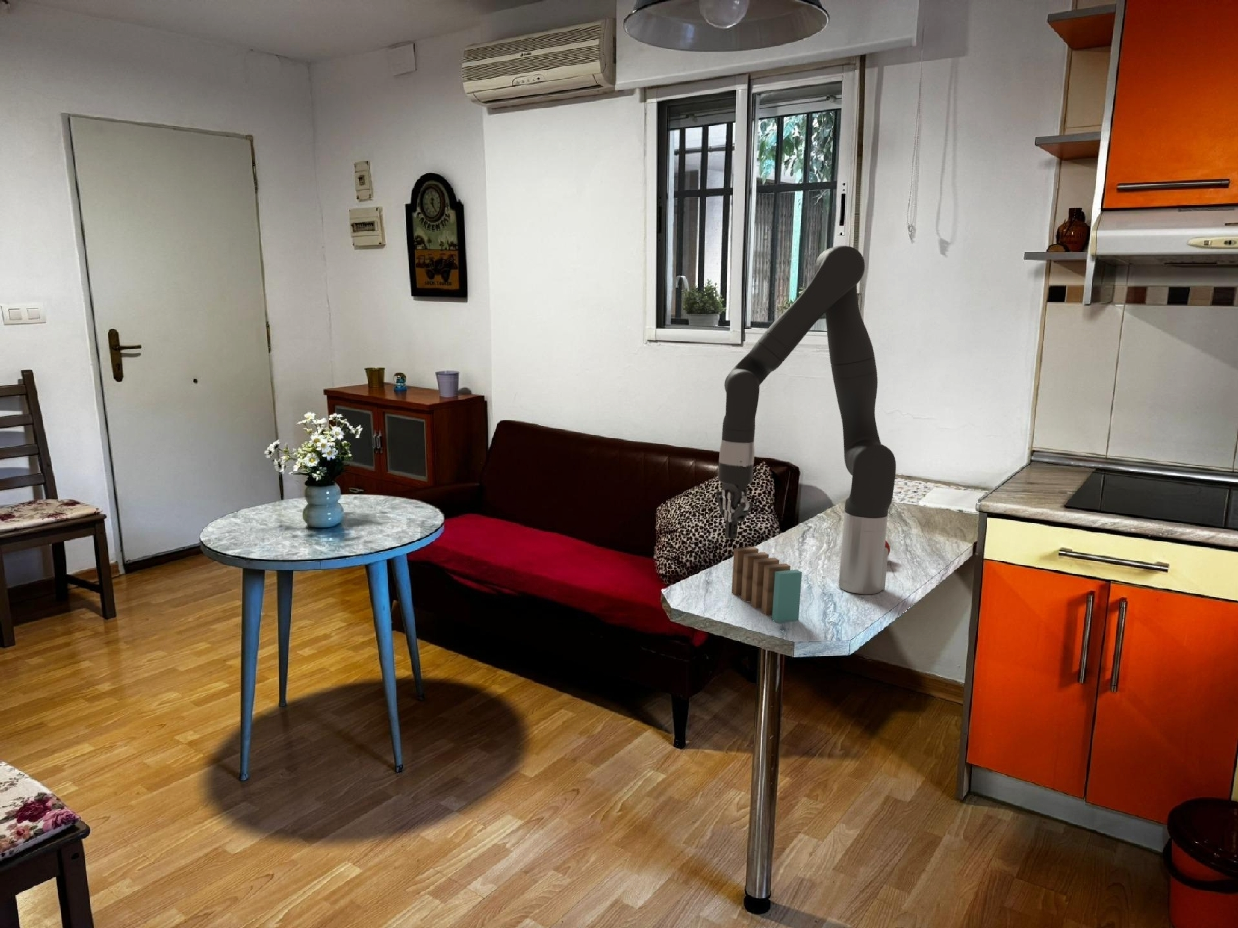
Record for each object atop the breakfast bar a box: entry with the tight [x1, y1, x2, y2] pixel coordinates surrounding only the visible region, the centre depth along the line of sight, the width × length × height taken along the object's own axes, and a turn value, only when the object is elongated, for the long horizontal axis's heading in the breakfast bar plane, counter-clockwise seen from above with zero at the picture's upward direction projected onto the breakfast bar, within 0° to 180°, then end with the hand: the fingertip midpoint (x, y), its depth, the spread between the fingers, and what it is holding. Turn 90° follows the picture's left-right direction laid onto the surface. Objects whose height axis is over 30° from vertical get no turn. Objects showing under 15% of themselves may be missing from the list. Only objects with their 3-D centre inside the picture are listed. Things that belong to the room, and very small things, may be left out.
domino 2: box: [740, 551, 770, 602], centre depth 181 cm, size 5×2×10 cm, turn 111°
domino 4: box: [761, 562, 791, 616], centre depth 173 cm, size 5×2×10 cm, turn 111°
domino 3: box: [750, 557, 780, 610], centre depth 177 cm, size 5×2×10 cm, turn 111°
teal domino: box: [771, 569, 803, 624], centre depth 169 cm, size 5×2×10 cm, turn 111°
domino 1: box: [731, 546, 759, 596], centre depth 184 cm, size 5×2×10 cm, turn 111°
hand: (730, 537), depth 189 cm, fingers closed
